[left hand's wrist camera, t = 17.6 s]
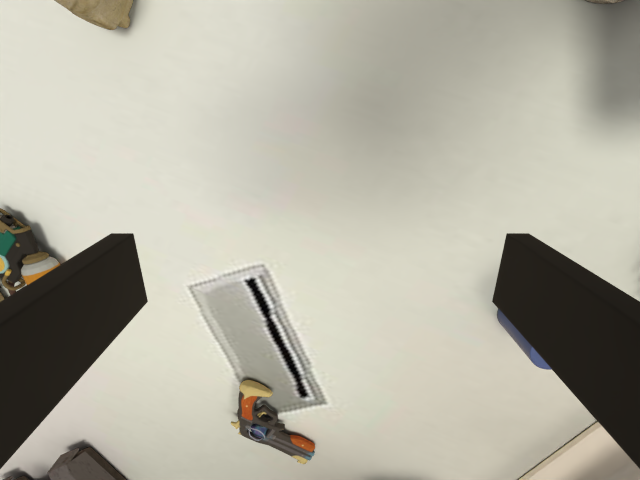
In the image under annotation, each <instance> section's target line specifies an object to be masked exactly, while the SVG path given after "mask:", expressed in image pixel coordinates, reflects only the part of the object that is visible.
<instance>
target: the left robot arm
mask: <svg viewBox="0 0 640 480" xmlns="http://www.w3.org/2000/svg"><path fill="white" fill-rule="evenodd" d="M586 1H589V2H593V3H600V4H609V3H617V2H621V1H625V0H586ZM147 302H148V301H147V296H146V291H145V287H144V282H143V277H142V273H141V268H140V263H139V258H138V254H137V249H136V244H135V240H134V235H133V234H110V235H108V236H107V237H105V238H103V239H102V240H100V241H99V242H97V243H95V244H94V245H92V246H90V247H89V248H87V249H85V250H84V251H82V252H81V253H79V254H77V255H76V256H74V257H72V258H71V259H69V260H68V261H66V262H64V263H63V264H61V265H59V266H58V267H56V268H55V269H53V270H51V271H50V272H48V273H46V274H45V275H43V276H41V277H40V278H38V279H37V280H35V281H33V282H32V283H30V284H28V285H27V286H25V287H24V288H22V289H20V290H19V291H17V292H15V293H14V294H12V295H11V296H9V297H7V298H6V299H4V300H2V301H1V302H0V469H1V468H2V466H3V465H4V464H5V463H6V462H7V461H8V460H9V459H10V457H11V456H12V455H13V454H14V453H15V452H16V451H17V449H18V448H19V447H20V446H21V445H22V444H23V443H24V441H25V440H26V439H27V438H28V437H29V436H30V435H31V434H32V432H33V431H34V430H35V429H36V428H37V427H38V426H39V424H40V423H41V422H42V421H43V420H44V419H45V418H46V416H47V415H48V414H49V413H50V412H51V411H52V410H53V409H54V407H55V406H56V405H57V404H58V403H59V402H60V401H61V399H62V398H63V397H64V396H65V395H66V394H67V393H68V391H69V390H70V389H71V388H72V387H73V386H74V385H75V383H76V382H77V381H78V380H79V379H80V378H81V377H82V376H83V374H84V373H85V372H86V371H87V370H88V369H89V368H90V366H91V365H92V364H93V363H94V362H95V361H96V360H97V358H98V357H99V356H100V355H101V354H102V353H103V352H104V351H105V349H106V348H107V347H108V346H109V345H110V344H111V343H112V341H113V340H114V339H115V338H116V337H117V336H118V335H119V333H120V332H121V331H122V330H123V329H124V328H125V327H126V326H127V324H128V323H129V322H130V321H131V320H132V319H133V318H134V316H135V315H136V314H137V313H138V312H139V311H140V310H141V308H142V307H143V306H144V305H145V304H146V303H147ZM492 302H493V303H494V304H495V305H496V306H497V307H498V308H499V310H500V311H501V312H502V313H503V314H504V315H505V316H506V318H507V319H508V320H509V321H510V322H511V323H512V324H513V326H514V327H515V328H516V329H517V330H518V331H519V332H520V333H521V335H522V336H523V337H524V338H525V339H526V340H527V341H528V343H529V344H530V345H531V346H532V347H533V348H534V349H535V351H536V352H537V353H538V354H539V355H540V356H541V357H542V358H543V360H544V361H545V362H546V363H547V364H548V365H549V366H550V368H551V369H552V370H553V371H554V372H555V373H556V374H557V376H558V377H559V378H560V379H561V380H562V381H563V382H564V383H565V385H566V386H567V387H568V388H569V389H570V390H571V391H572V393H573V394H574V395H575V396H576V397H577V398H578V399H579V401H580V402H581V403H582V404H583V405H584V406H585V407H586V409H587V410H588V411H589V412H590V413H591V414H592V415H593V416H594V418H595V419H596V420H597V421H598V422H599V423H600V424H601V426H602V427H603V428H604V429H605V430H606V431H607V432H608V434H609V435H610V436H611V437H612V438H613V439H614V440H615V441H616V443H617V444H618V445H619V446H620V447H621V448H622V449H623V451H624V452H625V453H626V454H627V455H628V456H629V457H630V459H631V460H632V461H633V462H634V463H635V464H636V465H637V466H638V468H639V469H640V302H639V301H638V300H636V299H634V298H633V297H631V296H629V295H628V294H626V293H625V292H623V291H621V290H620V289H618V288H616V287H615V286H613V285H612V284H610V283H608V282H607V281H605V280H603V279H602V278H600V277H599V276H597V275H595V274H594V273H592V272H590V271H589V270H587V269H585V268H584V267H582V266H581V265H579V264H577V263H576V262H574V261H572V260H571V259H569V258H568V257H566V256H564V255H563V254H561V253H559V252H558V251H556V250H555V249H553V248H551V247H550V246H548V245H546V244H545V243H543V242H541V241H540V240H538V239H537V238H535V237H533V236H532V235H530V234H507V235H506V240H505V244H504V249H503V254H502V258H501V263H500V268H499V273H498V277H497V282H496V287H495V291H494V296H493V301H492Z"/></svg>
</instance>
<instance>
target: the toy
mask: <svg viewBox="0 0 640 480" xmlns="http://www.w3.org/2000/svg"><path fill="white" fill-rule="evenodd" d="M48 475H49V477H50V480H126V479H125V478H124V477H123V476H122V475H121V474H120V473H118V472H117V471H116V470H115V469H114V468H113V467H112V466H111V465H110V464H109V463H108V462H106V461H105V460H104V459H103V458H102V457H101V456H100V455H99V454H98V453H97V452H96V451H94V450H93V449H92V448H91V447H88V448H86V449H83V450H81V451H79V448H77V449H74V450H72V451H70V452H67V453H65V454H62V455H61V456H60V457H59V458H58V460H57V461H56V462H55V464H54V465H53V466H52V467H51V469H50V470H49V471H48ZM12 478H13V477H12V476H11V477H8V478H6V479H3V480H11V479H12ZM14 480H29V479H28V478H27V477H25V476H22V477H19V478H17V479H14Z"/></svg>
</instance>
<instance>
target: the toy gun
mask: <svg viewBox="0 0 640 480" xmlns="http://www.w3.org/2000/svg"><path fill="white" fill-rule="evenodd" d="M239 389H240V393H239V409H238V419H239V421H237V422H231V425H233V426H234V427H235V428H236V429H237V428H238V427H240V432H239V433H238V434H240V435H242V436H244V437H246V438H249V439H251V440H253V441H256V442H258V443H262V444H266V445H269V446H271V447H274V448H276V449H278V450H280V451H282V452H284V453H286V454H288V455H290V456H291V457H293V458H296V459H297V460H298V461H297V462H298V463H302V464H305V463H306V462H307V461H308V460H311V458H312V456H314V453H315V451H314V449H315V444H314V443H312V442H311V441H309V440H307V439H305V438H303V437H301V436H297V435H288V434H286V433H284V432H282V431H281V430H284V429H285V424H281V423H277V420H278V414H277V413H275V412H273V411H271V410H270V409H269V408H268V407H267V406H266V405H262V406H261V407H259V408H257V409H255V408H254V406H255V403H256V402H257V401H258V400H259V399H260V398H261V397H270V396H271V395H272V394H273V393H272V391H271V390H270V389H268V388H267V387H265V386H263V385H262V384H260V383H258V382H255V381H252V380H246V381H243V382H242V383H241V384H240V387H239ZM261 411H262V412H261ZM259 412H260V413H259ZM266 413H267V414H268V415H269V416H271V417H272V418H269V419H267V418H265V417H263V416H261V415H262V414H266ZM259 414H260V415H259ZM253 423H256V424H253ZM248 429H249V430H248ZM250 429H251V431H252V432H251V431H250Z"/></svg>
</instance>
